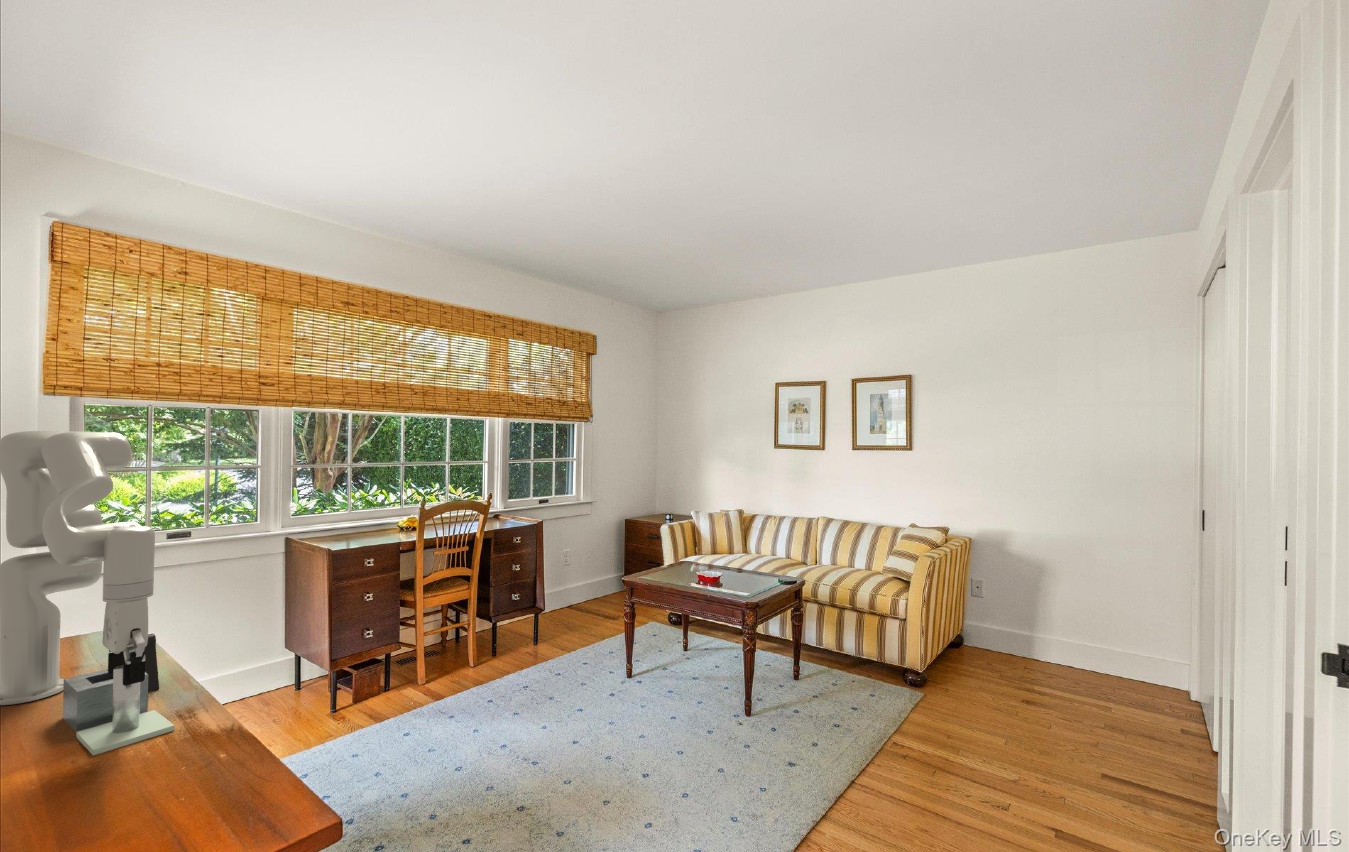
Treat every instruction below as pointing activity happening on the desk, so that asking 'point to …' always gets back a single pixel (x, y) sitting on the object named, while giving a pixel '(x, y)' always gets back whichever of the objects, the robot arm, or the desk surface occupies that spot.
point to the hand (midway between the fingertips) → (126, 676)
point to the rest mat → (106, 740)
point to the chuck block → (93, 699)
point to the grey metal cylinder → (125, 703)
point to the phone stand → (151, 663)
